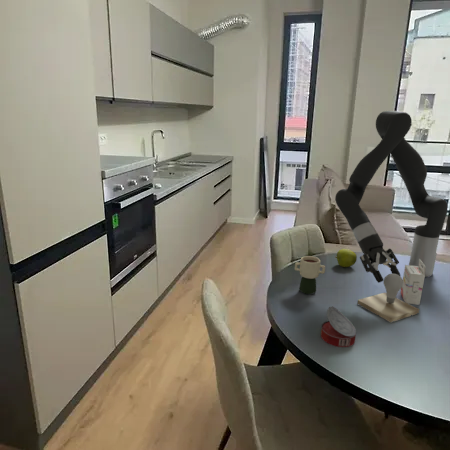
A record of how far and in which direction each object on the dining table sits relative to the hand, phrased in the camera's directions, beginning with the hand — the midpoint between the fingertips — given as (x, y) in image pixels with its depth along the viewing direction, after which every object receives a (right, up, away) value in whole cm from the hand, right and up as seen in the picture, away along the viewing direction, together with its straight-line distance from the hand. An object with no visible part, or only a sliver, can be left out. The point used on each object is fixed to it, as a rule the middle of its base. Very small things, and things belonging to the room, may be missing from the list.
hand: (389, 279), depth 129 cm
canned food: (-23, -15, -16) cm, 32 cm away
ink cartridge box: (+11, -9, +10) cm, 17 cm away
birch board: (0, -10, +2) cm, 10 cm away
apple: (-3, 0, +38) cm, 39 cm away
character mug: (-25, -7, +13) cm, 29 cm away
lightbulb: (+1, -9, +2) cm, 9 cm away
